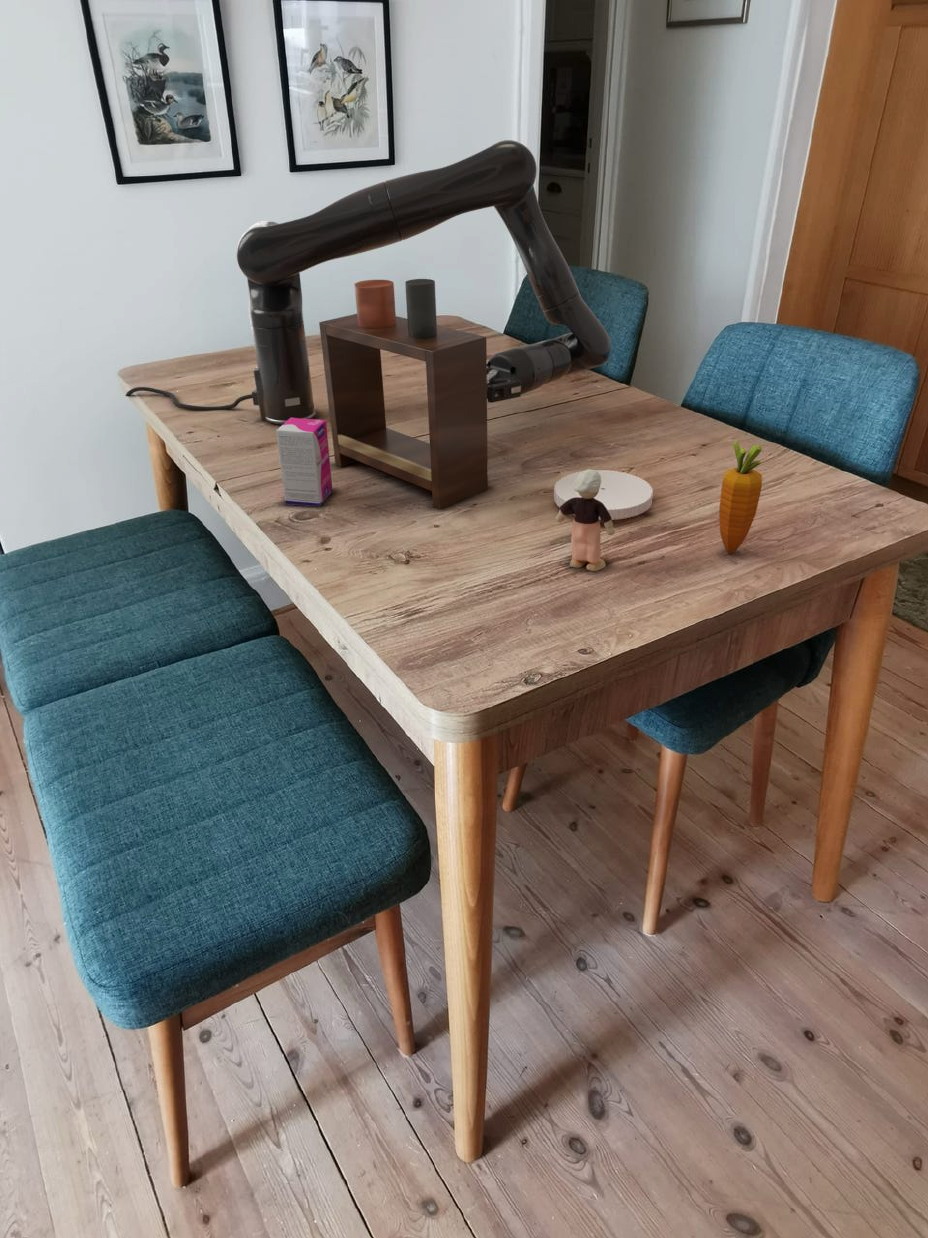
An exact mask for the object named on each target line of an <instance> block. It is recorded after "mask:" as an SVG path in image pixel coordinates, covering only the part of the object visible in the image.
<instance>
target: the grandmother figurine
mask: <svg viewBox="0 0 928 1238" xmlns="http://www.w3.org/2000/svg"><path fill="white" fill-rule="evenodd" d="M594 470H595V469H591V468H590V469H585V470H582V471H583V472H582V473H580V474H579V476H578V477H577V478H576V479H575V482H574V485H573V486H572V487H573V488H574V490H575V491H576V492H579V495H580V496H581V497H582V498H580V497H575V498H571V499H569V500H568V501H566V502H565V503H564V504H563V505H561V506H560V507H559V511H558V513H557V515H556V516H555V520H556V521H557V522H558V523H563V522H564V520H565V517H567V516H572V515H573V514H575V515H574V518H573V520H572V526H571V538H570V541H571V543H570V545H571V560H570V562H569V566H570V567H572V568H575V569H577V568H579V569H580V568H582V567H583V566H584V565H585V564H586V563H587V565H586V567H585V568H586V570H588V571H590V572H597V571H600V570H602V569H605V567H606V562H605V560H604V559H603V558H601V554H602V553H601V552H602V549H601V542H602V541H601V540H602V539H601V537H602V535H601V533H602V532H601V531H602V530H601V523H600V520H601V522H602V524H603V526H604V528H605V529H606V530H605V532H606V534H607V535H608V536H613V535H615V532H616V530H615V528H614V523H613V520H612V517H611V516H610V514H609V512H608V510H607V508H606V507H605V505H604V504H603V503H602V502H600V501H598V500H596V499H594V497H596V495H597V494H598V492H599V488H600V486H601V485H600V483H601V476H600V474H599V473H598V472H597V471H594ZM599 517H600V520H599Z"/></svg>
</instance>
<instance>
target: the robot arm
mask: <svg viewBox="0 0 928 1238" xmlns="http://www.w3.org/2000/svg"><path fill="white" fill-rule="evenodd" d="M537 171H538V170H537V162H536V158H535V156H534V155H533V153H532V152H531V150H530V149H529V148H528V147H527V146H526V145H524V144H523V143H521V142H519V141H516V140H513V139H505V140H500V141H498V142H496V143H494V144H492V145H491V146H489V147H487V148H485V149H483V150H481V151H479V152H477V153H475V154H472V155H470V156H469V157H466V158H463V159H462V160H459V161H457V162H454V163H452V164H449V165H447V166H443V167H439V168H435V169H429V170H424V171H419V172H414V173H410V174H406V175H402V176H398V177H395V178H392V179H387V180H384V181H381V182H378V183H375V184H373V185H370V186H366V187H364V188H362V189H359V190H356V191H354V192H352V193H350V194H348V195H345V196H344V197H342V198H340V199H338V200H336V201H334V202H332V203H331V204H329V205H327V206H325V207H324V208H322V209H320V210H318V211H316V212H314V213H311V214H310V215H307V216H304V217H300V218H297V219H293V220H289V221H286V222H285V221H284V222H280V223H278V222H275V221H271V220H261V221H258V222H256V223H254V224H252V225H250V226H249V228H248V229H246V231H245V232H244V233H243V234H242V235H241V236H240V239H239V241H238V242H237V246H236V257H235V258H236V263H237V267H238V268H239V270H240V272H241V273H242V275H244V276H245V277H246V282H247V288H248V315H249V321H250V328H251V333H252V340H253V341H252V342H253V346H254V353H255V359H256V365H257V366H256V367H254V368H253V377H254V382H255V389H254V390H253V391H252V392H251V394H246V395H242V396H240V397H238V398H236V399H235V401H234V402H232V403H230V404H226V405H220V406H219V405H218V406H201V405H192V404H186V403H181V402H179V401H178V400H177V398H176V396H175V394H174V393H172V392H170V391H167V390H162V389H157V388H153V387H147V386H136V387H133V388H131V389H130V390H128V391H127V392H126V393H125V395H124V396H125V397H130V396H131V395H133V394H134V393H136V392H151V393H155V394H159V395H164V396H167V397H170V398H171V402H172V403H173V404H174V406H176V407H178V408H181V409H185V410H186V409H187V410H192V411H222V410H223V411H225V410H230V409H234V408H236V407H237V406H238V405H239V404H240V403H241V402H243V401H246V400H251V399H252V403H253V406H258V408H259V415H260V420H261V421H266V422H268V423H270V424H273V425H281V426H282V425H283V424H284V423H285V422H287V421H288V420H289V419H290V418H301V419H315V417H316V416H317V414H316V408H315V401H314V395H313V385H312V377H311V370H310V369H311V368H310V361H309V353H308V345H307V337H306V329H305V321H304V313H303V292H302V283H301V274H300V273H302V272H304V271H307V270H309V269H311V268H313V267H316V266H318V265H320V264H324V263H326V262H330V261H332V260H337V259H341V258H347V257H350V256H355V255H359V254H363V253H366V252H369V251H374V250H377V249H380V248H384V247H387V246H391V245H393V244H397V243H399V242H402V241H405V240H408V239H410V238H412V237H415V236H417V235H420V234H423V233H424V232H426V231H429V230H432V229H433V228H435V227H437V226H439V225H440V224H443V223H445V222H447V221H448V220H451V219H453V218H455V217H457V216H461V215H463V214H466V213H470V212H474V211H478V210H483V209H487V208H491V207H493V208H494V209H495V211H496V212H497V214H498V215H499V217H500V218H501V220H502V222H503V224H504V225H505V227H506V229H507V231H508V233H509V234H510V237H511V238H512V239H511V240H512V241H513V243H514V245H515V247H516V249H517V252H518V254H519V257H520V259H521V262H522V264H523V267H524V269H525V272H526V274H527V277H528V280H529V282H530V285H531V287H532V289H533V292H534V294H535V296H536V298H537V301H538V303H539V306H540V308H541V310H542V313H543V315H544V317H545V319H546V321H547V322H548V323H549V324H551V325H555V326H557V325H558V326H559V325H560V326H564V327H566V328H567V329H568V330H569V331H570V332H568V333H565V334H563V335H560V336H557V337H555V338H550V339H546V340H545V339H544V340H542V341H538V342H535V343H532V344H525V345H521V346H516V347H513V348H511V349H510V348H509V349H507V350H504V351H500V352H497V353H494V354H493V355H492V356H491V357H490V358H489V359H488V362H487V403H490V404H492V403H496V402H497V403H498V402H502V401H506V400H511V399H516V398H519V397H521V396H522V395H524V394H527V393H529V392H533V391H535V390H537V389H539V388H541V387H542V386H544V385H547V384H550V383H553V382H556V381H558V380H560V379H562V378H564V377H565V376H569V375H572V374H576V373H579V372H583V371H587V370H590V369H594V368H598V367H601V366H602V365H604V364H606V362H607V361H608V360H609V358H610V356H611V348H612V347H611V345H612V344H611V340H610V336H609V334H608V332H607V330H606V329H605V327H604V326H603V324H602V323H601V322H600V320H599V318H598V317H596V315H595V313H594V312H593V311H592V309H591V308H590V307H589V306H588V304H587V303H586V302H585V300H584V299H583V297H582V295H581V293H580V290H579V288H578V285H577V283H576V280H575V278H574V275H573V273H572V271H571V269H570V267H569V265H568V262H567V260H566V259H565V257H564V255H563V252H562V251H561V248H560V247H559V245H558V244H557V243H556V241H555V238H554V236H553V234H552V232H551V231H550V229H549V227H548V225H547V222H546V220H545V218H544V215H543V213H542V210H541V207H540V204H539V201H538V198H537V194H536V190H535V186H534V185H535V182H536V179H537V173H538V172H537Z"/></svg>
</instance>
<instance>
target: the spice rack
mask: <svg viewBox="0 0 928 1238" xmlns="http://www.w3.org/2000/svg"><path fill="white" fill-rule="evenodd" d="M404 285H405V301H406V318H405V317H402V316H397V314H396V298H395V283H394V281H392V280H388V279H367V280H360V281H357V282H355V283H354V294H355V295H354V296H355V306H356V307H355V308H356V313H354V314H349V315H345V316H340V317H336V318H332V319H328V320H323V321H319V322H318V324H319V335H320V343H321V351H322V361H323V367H324V369H323V370H324V376H325V377H324V378H325V386H326V394H327V395H326V396H327V402H328V403H327V404H328V413H329V421H330V428H331V429H330V430H331V438H332V449H333V456H334V465H335V466H337V467H339V468H343V467H345V466H349V465H351V464H354V463H356V462H360V463H362V464H365V465H368V466H369V467H372V468H374V469H377V470H380V471H382V472H384V473H386V474H389V475H392V476H393V477H396V478H399V479H402V480H404V481H407V482H409V483H411V484H414V485H416V486H419V487H421V488H424V489H426V490H429V491H431V495H432V496H431V497H432V498H431V499H432V507H433V508H436V509H438V510H443V509H445V508H446V507H449V506H452V505H453V504H455V503H458V502H461V501H462V500H465V499H467V498H470V497H472V496H474V495H477V494H479V493H481V492H484V491H486V490H488V489H489V476H488V475H489V471H488V470H489V469H488V468H489V465H488V463H489V460H488V399H487V363H488V362H487V359H488V358H487V355H488V354H487V336H485V335H480V334H475V333H472V332H467V331H462V330H458V329H453V328H449V327H445V326H441V325H438V323H437V299H436V298H437V297H436V281H435V280H434V279H430V278H414V279H409V280H406V281H405V282H404ZM381 350H382V351H385V352H388V353H393V354H396V355H399V356H404V357H407V358H411V359H414V360H418V361H422V362H425V373H426V392H427V393H426V395H427V413H428V433H429V434H428V435H429V436H428V437H429V442H427V441H424V440H421V439H419V438H416V437H413V436H410V435H407V434H404V433H402V432H399V431H397V430H394V429H390V428H388V427H387V420H386V419H387V417H386V406H385V393H384V392H385V391H384V379H383V368H382V367H383V366H382V356H381V355H382V354H381Z"/></svg>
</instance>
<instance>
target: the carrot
mask: <svg viewBox="0 0 928 1238" xmlns="http://www.w3.org/2000/svg"><path fill="white" fill-rule="evenodd" d="M732 447H733V449H734V454H735V458H736V462H737V465H736V467H733V468H729V469H726V471H724V474H723V477H722V482H721V483H722V484H721V490H720V499H719V509H718V513H719V514H718V517H719V520H718V521H719V534H720V538H721V542H722V544H723V547H724V549H725V551H726V552H727V553H728V554H729V555H731V554H733V553H736V551H737V550H738V549H739V548H740V547H741V545H742V544H743V543H744V541H745V539H746V538H747V536H748V534H749V532H750V531H751V527H752V524H753V522H754V520H755V517H756V513H757V509H758V506H759V505H758V504H759V501H760V497H761V491H762V486H763V475H762V474H761V473H760V472H759V471H757V470H755V468H757V467H758V466H759V465H761V464H762V462H761V461H760V460H756V458H757V457H758V455H760V453H761V452H762V450H763V447H762V446H761V445H760V444H755V445H753V446H752V447H751V448H750V449H749V450H748V453H747V449H746V448H741V446H740V444H739V441H734V442H732Z"/></svg>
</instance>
